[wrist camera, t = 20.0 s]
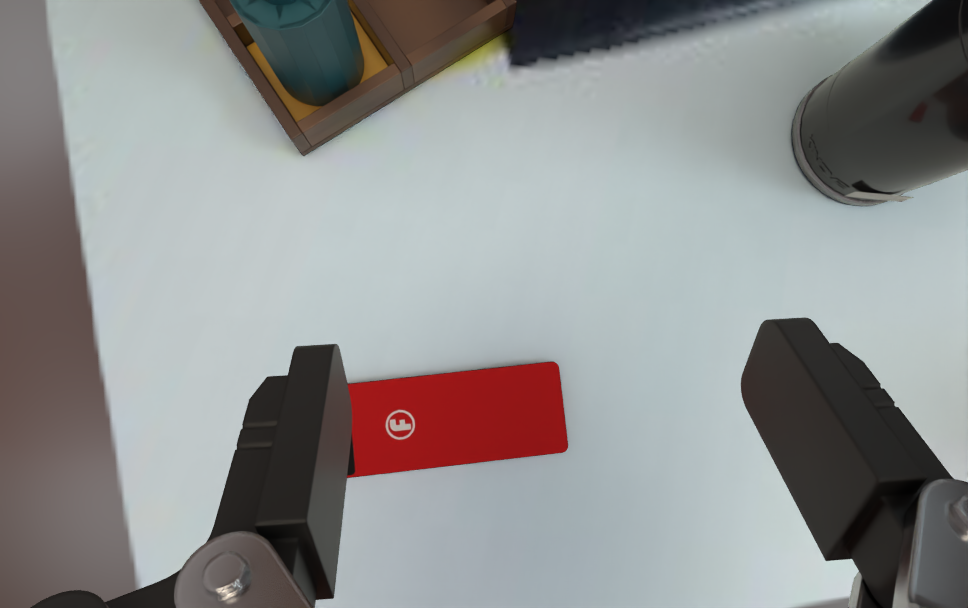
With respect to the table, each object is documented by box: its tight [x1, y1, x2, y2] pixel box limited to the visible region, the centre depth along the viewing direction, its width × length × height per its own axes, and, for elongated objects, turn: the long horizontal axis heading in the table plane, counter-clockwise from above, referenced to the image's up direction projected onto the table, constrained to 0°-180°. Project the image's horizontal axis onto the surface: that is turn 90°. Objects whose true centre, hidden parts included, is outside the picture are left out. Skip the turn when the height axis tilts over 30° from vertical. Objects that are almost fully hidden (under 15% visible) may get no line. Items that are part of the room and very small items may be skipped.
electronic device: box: [347, 362, 568, 478], centre depth 40 cm, size 6×1×15 cm
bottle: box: [229, 0, 364, 106], centre depth 35 cm, size 6×6×12 cm
